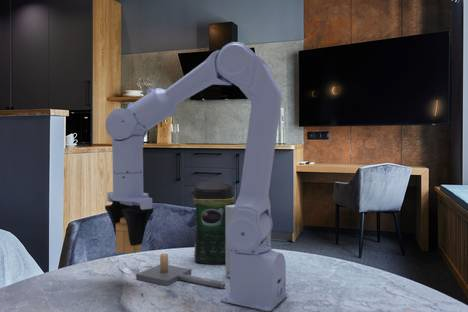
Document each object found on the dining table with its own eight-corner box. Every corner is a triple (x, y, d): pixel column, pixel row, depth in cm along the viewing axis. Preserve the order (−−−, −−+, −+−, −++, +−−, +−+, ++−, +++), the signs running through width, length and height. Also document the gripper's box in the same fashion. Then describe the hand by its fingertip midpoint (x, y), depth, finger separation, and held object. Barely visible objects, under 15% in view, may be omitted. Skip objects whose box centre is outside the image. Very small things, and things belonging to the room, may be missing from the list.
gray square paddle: (235, 282, 78) (235, 259, 78) (213, 295, 71) (213, 271, 71) (161, 268, 87) (161, 248, 87) (136, 279, 80) (135, 257, 80)
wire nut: (146, 248, 78) (146, 217, 78) (129, 254, 74) (128, 221, 74) (128, 245, 80) (128, 215, 80) (110, 251, 76) (110, 219, 76)
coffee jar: (237, 255, 97) (236, 180, 96) (232, 265, 89) (232, 183, 89) (198, 254, 98) (197, 180, 98) (190, 264, 90) (190, 183, 90)
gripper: (166, 173, 74) (167, 245, 74) (129, 169, 85) (129, 232, 85) (131, 175, 69) (133, 252, 70) (97, 171, 80) (98, 238, 80)
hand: (129, 242), depth 77 cm, fingers closed on wire nut, 5 cm apart
